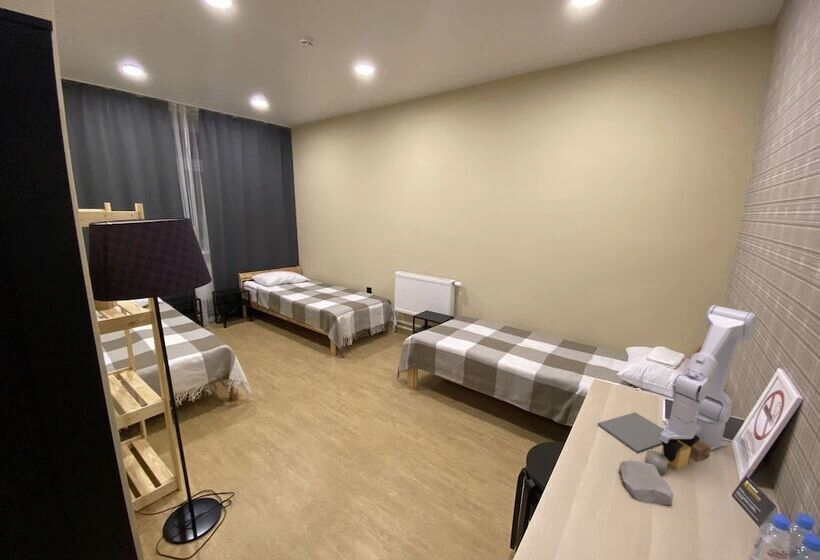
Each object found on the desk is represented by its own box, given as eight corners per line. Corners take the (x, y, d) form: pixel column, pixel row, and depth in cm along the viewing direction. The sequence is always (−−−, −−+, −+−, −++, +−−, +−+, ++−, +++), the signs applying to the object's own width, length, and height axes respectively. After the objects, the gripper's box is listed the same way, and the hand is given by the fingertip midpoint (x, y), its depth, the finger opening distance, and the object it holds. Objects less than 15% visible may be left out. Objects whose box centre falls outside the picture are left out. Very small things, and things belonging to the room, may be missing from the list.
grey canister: (651, 460, 99) (654, 448, 98) (669, 472, 94) (672, 460, 93) (640, 464, 97) (642, 452, 96) (657, 477, 93) (660, 465, 92)
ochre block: (670, 454, 101) (674, 437, 100) (687, 465, 97) (691, 447, 96) (660, 458, 100) (664, 440, 98) (676, 469, 96) (680, 451, 94)
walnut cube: (689, 447, 104) (692, 435, 104) (708, 458, 100) (711, 446, 99) (679, 450, 103) (681, 439, 102) (697, 462, 98) (700, 450, 97)
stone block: (633, 508, 85) (677, 507, 83) (631, 491, 85) (676, 490, 83) (613, 473, 97) (652, 472, 95) (612, 458, 96) (651, 457, 94)
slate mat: (634, 414, 120) (635, 412, 120) (676, 439, 108) (677, 437, 107) (597, 425, 114) (597, 423, 114) (637, 453, 101) (637, 451, 101)
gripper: (685, 403, 101) (676, 442, 104) (651, 413, 96) (643, 453, 99) (712, 417, 95) (702, 457, 98) (678, 428, 90) (668, 471, 93)
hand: (674, 456), depth 98 cm, fingers closed on ochre block, 4 cm apart
